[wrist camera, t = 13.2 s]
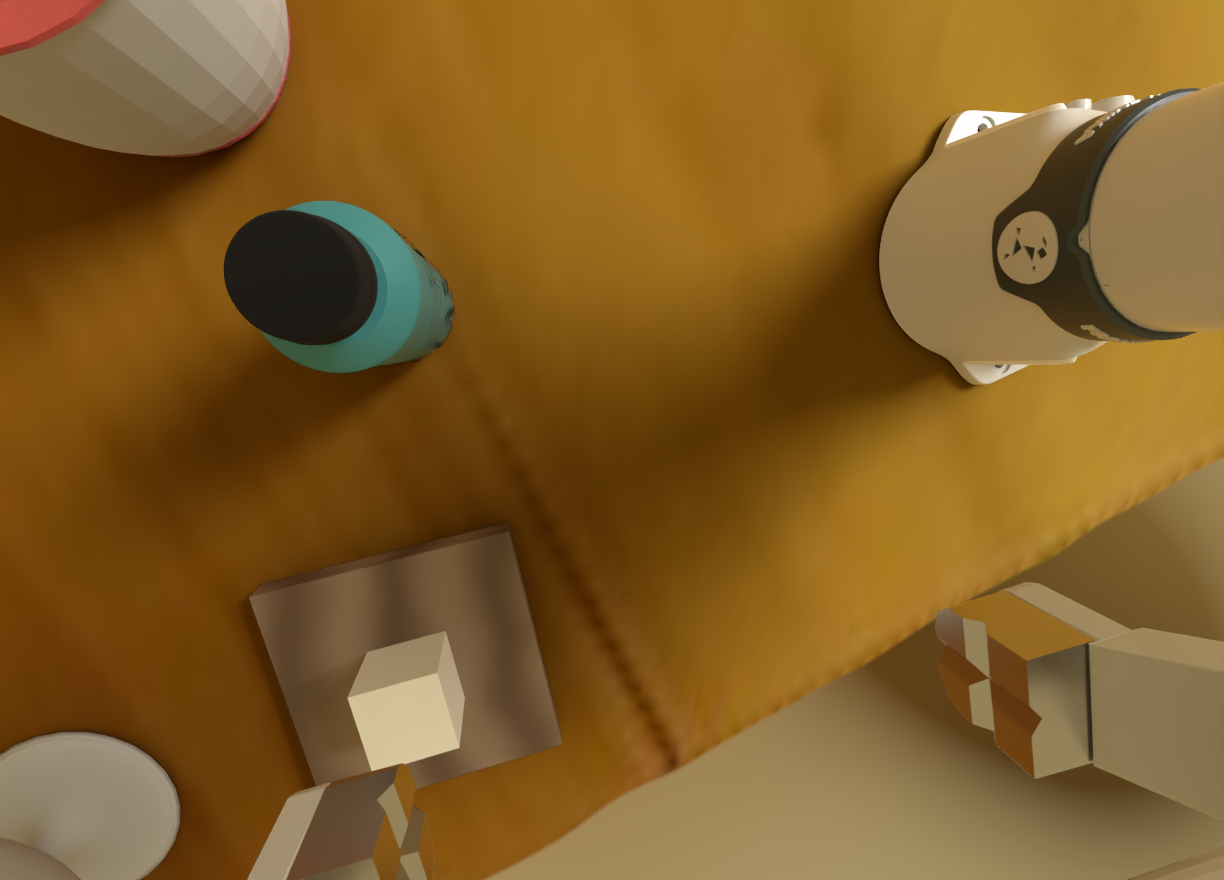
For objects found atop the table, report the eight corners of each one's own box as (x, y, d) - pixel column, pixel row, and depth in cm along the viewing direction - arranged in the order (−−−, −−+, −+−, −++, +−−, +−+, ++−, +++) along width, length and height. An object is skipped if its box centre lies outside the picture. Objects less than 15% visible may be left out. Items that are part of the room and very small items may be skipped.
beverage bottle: (426, 381, 38) (344, 428, 19) (326, 324, 37) (124, 312, 17) (477, 291, 38) (449, 245, 18) (379, 231, 36) (234, 110, 17)
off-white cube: (445, 630, 39) (437, 672, 34) (464, 698, 40) (459, 747, 35) (367, 652, 38) (347, 697, 33) (388, 719, 39) (372, 773, 34)
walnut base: (508, 522, 41) (508, 531, 39) (559, 726, 44) (562, 744, 42) (261, 584, 38) (248, 597, 36) (334, 793, 42) (326, 816, 40)
